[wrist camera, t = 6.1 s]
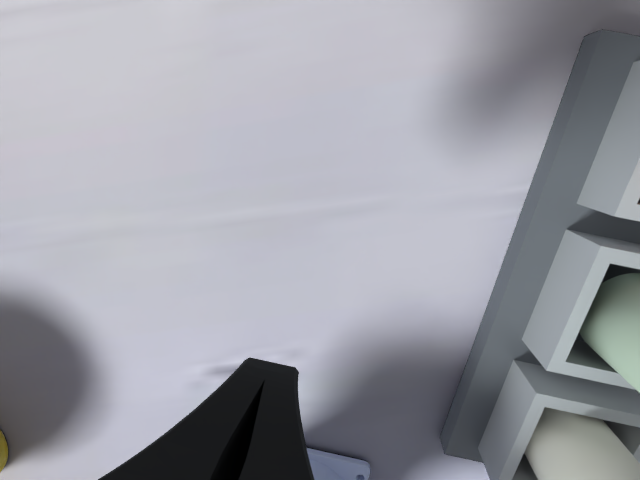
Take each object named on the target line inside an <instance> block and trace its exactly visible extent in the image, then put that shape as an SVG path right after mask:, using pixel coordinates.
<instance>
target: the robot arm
mask: <svg viewBox="0 0 640 480" xmlns="http://www.w3.org/2000/svg"><path fill="white" fill-rule="evenodd" d="M298 374H299V372H298V370H297V369H296V368H295V367H291V366H286V365H281V364H277V363H272V362H268V361H263V360H258V359H254V358H248V359H246V360H245V361H244V362H243V363H242V364H241V365H240V366H239V368H238V369H237V370H236V371H235V372H234V373H233V374H232V375H231V376H230V377H229V378H228V379H227V380H226V381H225V382H224V383H223V384H222V385H221V386H220V387H219V388H218V389H217V390H216V391H215V392H213V393H212V394H211V395H210V396H209V397H208V398H207V399H206V400H205V401H203V402H202V403H201V404H200V405H199V406H198V407H197V408H196V409H195V410H193V411H192V412H191V413H190V414H189V415H187V416H186V417H185V418H184V419H182V420H181V421H180V422H179V423H177V424H176V425H175V426H174V427H173V428H171V429H170V430H169V431H168V432H166V433H165V434H164V435H162V436H161V437H160V438H158V439H157V440H156V441H154V442H153V443H152V444H150V445H149V446H148V447H146V448H145V449H144V450H142V451H141V452H139V453H138V454H136V455H135V456H133V457H132V458H131V459H129V460H128V461H126V462H125V463H123V464H122V465H120V466H119V467H117V468H116V469H114V470H113V471H111V472H109V473H108V474H106V475H105V476H103V477H101V478H100V479H98V480H368V478H369V475H370V465H369V463H367V462H366V461H363V460H359V459H354V458H350V457H345V456H341V455H337V454H332V453H328V452H323V451H319V450H314V449H310V448H306V444H305V439H304V434H303V428H302V422H301V417H300V409H299V400H298ZM360 475H361V476H360Z"/></svg>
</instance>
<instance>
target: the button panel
mask: <svg viewBox="0 0 640 480" xmlns="http://www.w3.org/2000/svg"><path fill="white" fill-rule="evenodd" d="M628 273H640V36H636V35H630V34H625V33H620V32H614V31H609V30H603V29H602V30H599V31H597V32H594V33H592V34H589V35H587V36H584V39H583V42H582V44H581V47H580V50H579V53H578V56H577V58H576V61H575V64H574V67H573V69H572V72H571V75H570V78H569V81H568V83H567V86H566V89H565V92H564V94H563V97H562V100H561V103H560V105H559V108H558V111H557V114H556V117H555V119H554V122H553V125H552V128H551V130H550V133H549V136H548V139H547V142H546V144H545V147H544V150H543V153H542V155H541V158H540V161H539V164H538V167H537V169H536V172H535V175H534V178H533V180H532V183H531V186H530V189H529V192H528V194H527V197H526V200H525V203H524V205H523V208H522V211H521V214H520V216H519V219H518V222H517V225H516V228H515V230H514V233H513V236H512V239H511V241H510V244H509V247H508V250H507V253H506V255H505V258H504V261H503V264H502V266H501V269H500V272H499V275H498V278H497V280H496V283H495V286H494V289H493V291H492V294H491V297H490V300H489V303H488V305H487V308H486V311H485V314H484V316H483V319H482V322H481V325H480V328H479V330H478V333H477V336H476V339H475V341H474V344H473V347H472V350H471V352H470V355H469V358H468V361H467V364H466V366H465V369H464V372H463V375H462V377H461V380H460V383H459V386H458V389H457V391H456V394H455V397H454V400H453V402H452V405H451V408H450V411H449V414H448V416H447V419H446V422H445V425H444V427H443V430H442V433H441V436H440V439H441V443H442V446H443V450H444V454H446V455H451V456H455V457H460V458H464V459H469V460H473V461H478V462H482V463H484V465H485V468H486V470H487V473H488V476H489V478H490V480H538V479H537V477H536V475H535V473H534V471H533V469H532V467H531V465H530V463H529V461H528V459H527V458H526V456H525V454H524V452H525V450H526V448H527V445H528V443H529V441H530V439H531V437H532V434H533V432H534V430H535V428H536V425H537V423H538V421H539V419H540V417H541V414H542V412H543V410H544V408H545V407H547V408H552V409H557V410H561V411H566V412H570V413H575V414H580V415H584V416H589V417H593V418H598V419H602V420H603V421H604V422H605V423H606V424H607V425H608V427H609V428H610V429H611V430H612V431H613V433H614V434H615V435H616V436H617V437H618V438H619V440H620V441H621V442H622V443H623V444H624V445H625V447H626V448H627V449H628V450H629V451H630V453H631V454H632V455H633V456H634V457H635V458H636V460H637V461H638V462H639V463H640V393H639V392H638V391H637V390H636V389H635V388H634V387H633V386H632V385H630V384H629V383H628V382H627V381H626V380H625V379H624V378H623V377H622V376H621V375H620V374H619V373H618V372H617V371H615V370H614V369H613V368H612V367H611V366H610V365H609V364H608V363H607V362H606V361H605V360H604V359H603V358H601V357H600V356H599V355H598V354H597V353H596V352H595V351H594V350H593V349H592V348H591V347H590V346H589V345H588V344H587V343H586V342H585V341H584V340H583V338H582V336H581V334H580V332H579V331H580V328H581V326H582V324H583V322H584V320H585V317H586V315H587V313H588V311H589V309H590V306H591V304H592V302H593V300H594V298H595V295H596V293H597V291H598V289H599V287H600V284H602V283H603V282H605V281H607V280H609V279H611V278H613V277H616V276H619V275H623V274H628Z"/></svg>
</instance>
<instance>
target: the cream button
mask: <svg viewBox="0 0 640 480" xmlns="http://www.w3.org/2000/svg"><path fill="white" fill-rule="evenodd" d="M524 454H525V456H526V458H527V459H528V461H529V463H530V465H531V467H532V469H533V471H534V473H535V475H536V477H537V479H538V480H640V463H639V462H638V461H637V460H636V458H635V457H634V456H633V455H632V454H631V453H630V451H629V450H628V449H627V448H626V447H625V445H624V444H623V443H622V442H621V441H620V440H619V438H618V437H617V436H616V435H615V434H614V433H613V431H612V430H611V429H610V428H609V427H608V425H607V424H606V423H605V422H604V421H603V420H602V419H598V418H593V417H589V416H584V415H580V414H575V413H570V412H566V411H561V410H557V409H552V408H547V407H545V408H544V410H543V412H542V414H541V417H540V419H539V421H538V423H537V425H536V428H535V430H534V432H533V434H532V437H531V439H530V441H529V443H528V445H527V448H526V450H525V452H524Z"/></svg>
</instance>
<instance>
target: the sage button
mask: <svg viewBox="0 0 640 480" xmlns="http://www.w3.org/2000/svg"><path fill="white" fill-rule="evenodd" d="M579 332H580V334H581V336H582V338H583V340H584V341H585V342H586V343H587V344H588V345H589V346H590V347H591V348H592V349H593V350H594V351H595V352H596V353H597V354H598V355H599V356H600V357H601V358H603V359H604V360H605V361H606V362H607V363H608V364H609V365H610V366H611V367H612V368H613V369H614V370H615V371H617V372H618V373H619V374H620V375H621V376H622V377H623V378H624V379H625V380H626V381H627V382H628V383H629V384H630V385H632V386H633V387H634V388H635V389H636V390H637V391H638V392H639V393H640V273H628V274H623V275H619V276H616V277H613V278H611V279H609V280H607V281H605V282H603V283H602V284H600V287H599V289H598V291H597V293H596V295H595V298H594V300H593V302H592V304H591V306H590V309H589V311H588V313H587V315H586V317H585V320H584V322H583V324H582V326H581V328H580V331H579Z"/></svg>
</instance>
